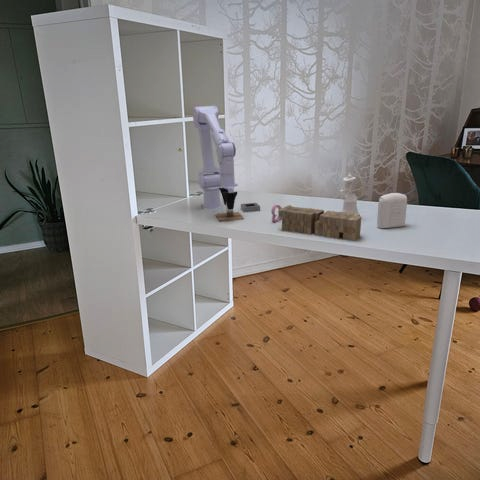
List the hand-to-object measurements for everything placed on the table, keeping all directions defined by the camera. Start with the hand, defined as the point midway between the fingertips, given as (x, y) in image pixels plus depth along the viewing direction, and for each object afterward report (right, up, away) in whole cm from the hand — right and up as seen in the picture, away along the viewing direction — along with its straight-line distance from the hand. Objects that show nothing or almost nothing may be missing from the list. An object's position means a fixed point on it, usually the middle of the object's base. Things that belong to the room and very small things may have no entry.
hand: (228, 206), depth 176 cm
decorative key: (+24, -5, 0) cm, 24 cm away
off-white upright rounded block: (+60, -9, -18) cm, 63 cm away
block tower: (+33, -11, -21) cm, 41 cm away
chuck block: (+9, -1, +12) cm, 15 cm away
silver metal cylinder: (+1, -4, +1) cm, 4 cm away
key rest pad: (0, -5, +1) cm, 5 cm away
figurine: (+48, -5, -6) cm, 48 cm away
